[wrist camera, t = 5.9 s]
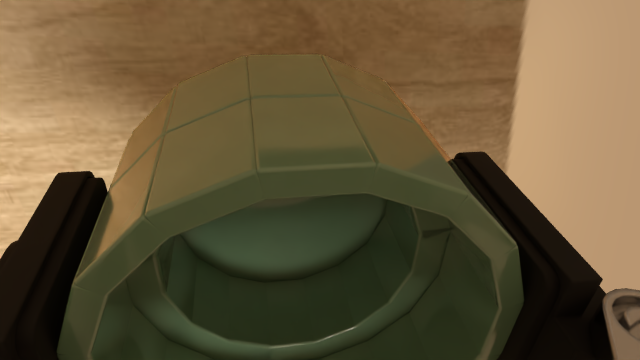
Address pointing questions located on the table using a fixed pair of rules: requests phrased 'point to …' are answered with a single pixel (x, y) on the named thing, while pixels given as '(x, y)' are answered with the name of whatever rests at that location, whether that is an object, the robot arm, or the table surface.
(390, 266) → the bowl
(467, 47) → the table surface
